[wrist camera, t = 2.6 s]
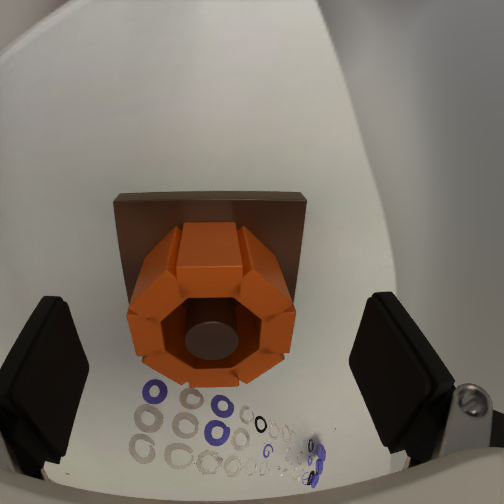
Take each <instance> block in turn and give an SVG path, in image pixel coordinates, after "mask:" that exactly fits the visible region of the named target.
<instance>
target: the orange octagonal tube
mask: <svg viewBox="0 0 504 504" xmlns="http://www.w3.org/2000/svg"><path fill="white" fill-rule="evenodd" d="M218 297H233V298H235V299H236V300H237V301H238V302H240V304H239V305H238V306H236V307H235V312H236V320H237V328H238V336H239V343H238V346H237V348H236V350H235V351H234V352H233V353H232V354H231V355H229V356H227V357H225V358H222V359H218V360H206V359H201V358H199V357H196V356H195V355H193V354H192V353H191V352H190V351H189V350H188V349H187V347H186V345H185V325H186V311H187V308H186V307H184V306H183V305H182V304H181V303H183V302H184V301H185V300H186V299H187V298H218ZM295 316H296V310H295V308H294V305H293V302H292V299H291V297H290V294H289V291H288V288H287V286H286V283H285V280H284V277H283V275H282V272H281V269H280V266H279V264H278V262H277V259H276V256H275V255H274V254H273V253H272V252H271V251H270V250H269V249H268V248H267V247H266V246H265V245H264V244H263V243H262V242H260V241H259V240H258V239H257V238H256V237H255V236H254V235H253V234H252V233H251V232H250V231H249V230H248V229H247V228H246V227H245V226H242V227H241V228H240V229H238V230H237V228H236V223H235V222H185V223H184V224H183V229H182V230H180V229H179V228H178V227H177V226H175V227H174V228H173V229H172V230H171V231H170V232H169V233H168V234H167V235H166V236H165V237H164V238H163V239H162V240H161V241H160V242H159V243H158V244H157V245H156V246H155V247H154V248H153V249H152V250H151V251H150V253H149V254H148V255H147V256H146V257H145V258H144V261H143V264H142V267H141V270H140V273H139V276H138V279H137V282H136V285H135V288H134V291H133V295H132V298H131V301H130V304H129V309H128V312H127V319H128V324H129V328H130V332H131V336H132V340H133V344H134V348H135V352H136V355H137V356H142V362H143V363H144V364H146V365H148V366H149V367H151V368H153V369H154V370H156V371H158V372H159V373H161V374H163V375H164V376H166V377H168V378H170V379H171V380H173V381H175V382H177V383H178V384H180V385H183V384H184V383H186V382H187V381H188V382H189V387H233V386H239V380H240V381H242V382H244V383H246V384H247V383H249V382H250V381H252V380H254V379H255V378H257V377H258V376H260V375H261V374H263V373H264V372H266V371H267V370H269V369H270V368H272V367H273V366H275V365H276V364H278V363H279V362H281V361H282V360H284V359H285V358H284V354H283V353H289V351H290V346H291V340H292V334H293V328H294V322H295Z"/></svg>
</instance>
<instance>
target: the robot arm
mask: <svg viewBox="0 0 504 504" xmlns="http://www.w3.org/2000/svg"><path fill="white" fill-rule="evenodd" d="M349 366H350V369H351V371H352V373H353V376H354V378H355V380H356V383H357V385H358V387H359V389H360V392H361V394H362V396H363V399H364V401H365V404H366V406H367V408H368V411H369V413H370V415H371V418H372V420H373V423H374V425H375V427H376V430H377V432H378V435H379V437H380V440H381V442H382V444H383V445H384V446H385V447H388V449H389V451H390V454H392V453H396V452H399V451H402V450H405V451H406V453H407V455H408V456H407V459H406V462H405V464H404V467H403V470H402V471H399V472H395V473H392V474H388V475H385V476H381V477H378V478H374V479H370V480H367V481H363V482H359V483H355V484H351V485H346V486H342V487H337V488H332V489H327V490H322V491H316V492H310V493H304V494H298V495H291V496H283V497H274V498H265V499H253V500H237V501H172V500H156V499H144V498H135V497H126V496H119V495H112V494H105V493H99V492H94V491H88V490H83V489H79V488H74V487H69V486H65V485H60V484H56V483H52V482H50V480H49V478H48V476H47V474H46V472H45V470H44V468H43V467H44V463H45V461H47V462H51V463H56V464H60V459H61V457H63V456H65V454H66V451H67V447H68V443H69V439H70V435H71V431H72V427H73V424H74V420H75V416H76V413H77V409H78V406H79V402H80V399H81V395H82V392H83V389H84V386H85V382H86V379H87V376H88V373H89V363H88V360H87V357H86V355H85V352H84V350H83V347H82V344H81V342H80V339H79V336H78V333H77V330H76V327H75V325H74V322H73V319H72V316H71V312H70V309H69V306H68V304H67V302H65V301H63V299H62V298H61V297H59V296H44V297H43V298H42V299H41V300H40V302H39V303H38V305H37V307H36V308H35V310H34V311H33V313H32V315H31V316H30V318H29V319H28V321H27V323H26V324H25V326H24V328H23V329H22V331H21V333H20V334H19V336H18V338H17V340H16V341H15V343H14V345H13V347H12V348H11V350H10V352H9V354H8V356H7V357H6V359H5V361H4V363H3V365H2V367H1V369H0V504H504V414H503V413H500V412H498V411H495V410H493V405H492V400H491V398H490V396H489V395H488V393H487V392H486V391H485V390H484V389H483V388H481V387H479V386H477V385H475V384H470V383H467V384H462V385H460V386H458V387H457V388H455V386H454V385H453V384H454V382H455V380H454V378H453V377H452V375H451V374H450V372H449V371H448V369H447V368H446V367H445V365H444V363H443V362H442V360H441V359H440V358H439V356H438V354H437V353H436V352H435V350H434V349H433V347H432V346H431V344H430V343H429V342H428V340H427V339H426V337H425V336H424V335H423V333H422V332H421V330H420V329H419V327H418V326H417V325H416V323H415V322H414V321H413V319H412V318H411V317H410V315H409V314H408V312H407V311H406V310H405V308H404V307H403V306H402V304H401V303H400V302H399V300H398V299H397V298H396V296H395V295H394V294H393V293H392V292H376V293H374V294H373V295H372V297H370V298H368V300H367V302H366V306H365V309H364V313H363V316H362V319H361V322H360V326H359V329H358V332H357V335H356V338H355V341H354V345H353V348H352V351H351V354H350V357H349Z"/></svg>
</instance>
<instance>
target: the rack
mask: <svg viewBox="0 0 504 504" xmlns="http://www.w3.org/2000/svg"><path fill="white" fill-rule="evenodd" d="M113 204H114V213H115V221H116V229H117V236H118V243H119V250H120V256H121V262H122V268H123V274H124V280H125V285H126V291H127V296H128V301H129V304H130V301H131V298H132V295H133V291H134V288H135V285H136V282H137V279H138V276H139V273H140V270H141V267H142V264H143V261H144V258H145V257H146V256H147V255H148V254H149V253H150V251H151V250H152V249H153V248H154V247H155V246H156V245H157V244H158V243H159V242H160V241H161V240H162V239H163V238H164V237H165V236H166V235H167V234H168V233H169V232H170V231H171V230H172V229H173V228H174V227H175V226H177V227H178V228H179V229H180V230H182V229H183V224H184V223H185V222H235V223H236V228H237V230H238V229H240V228H241V227H242V226H245V227H246V228H247V229H248V230H249V231H250V232H251V233H252V234H253V235H254V236H255V237H256V238H257V239H258V240H259V241H260V242H262V243H263V244H264V245H265V246H266V247H267V248H268V249H269V250H270V251H271V252H272V253H273V254H274V255H275V256H276V259H277V262H278V264H279V266H280V269H281V272H282V275H283V277H284V280H285V283H286V286H287V288H288V291H289V294H290V297H291V299H292V302H294V296H295V289H296V282H297V275H298V267H299V260H300V253H301V245H302V237H303V229H304V221H305V213H306V204H307V200H306V198H305V197H304V196H303V195H302V194H301V193H300V192H262V191H190V192H149V193H124V194H119V195H118V196H117V198H116V199H115V200H114V201H113ZM181 304H182V305H183V306H184V307H186V308H187V311H186V325H185V345H186V347H187V349H188V350H189V351H190V352H191V353H192V354H193V355H195V356H196V357H199V358H201V359H206V360H218V359H222V358H225V357H227V356H229V355H231V354H232V353H233V352H234V351H235V350H236V348H237V346H238V343H239V336H238V328H237V320H236V312H235V307H236V306H238V305H239V304H240V302H238V301H237V300H236V299H235V298H233V297H218V298H187V299H186V300H185V301H184V302H183V303H181Z"/></svg>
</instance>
